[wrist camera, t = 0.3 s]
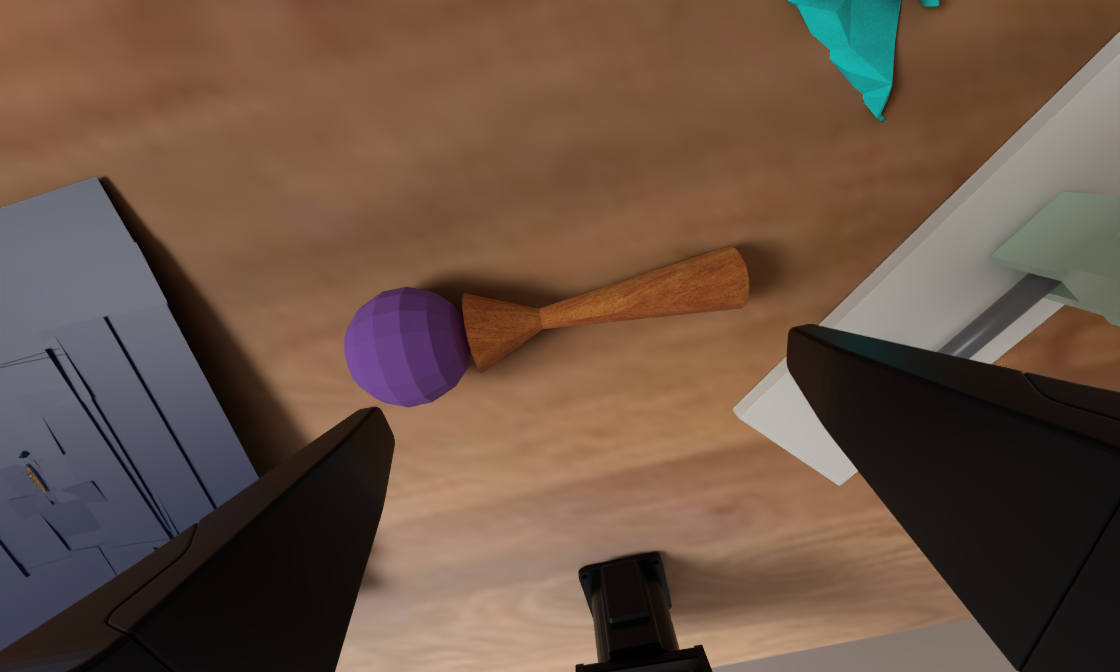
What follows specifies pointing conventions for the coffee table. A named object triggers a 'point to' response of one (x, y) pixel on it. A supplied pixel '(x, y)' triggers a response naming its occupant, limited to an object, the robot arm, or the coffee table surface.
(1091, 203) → the sage green stepped block
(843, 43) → the cloth
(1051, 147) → the white board with rod
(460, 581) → the coffee table surface
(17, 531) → the papers
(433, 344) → the kendama
